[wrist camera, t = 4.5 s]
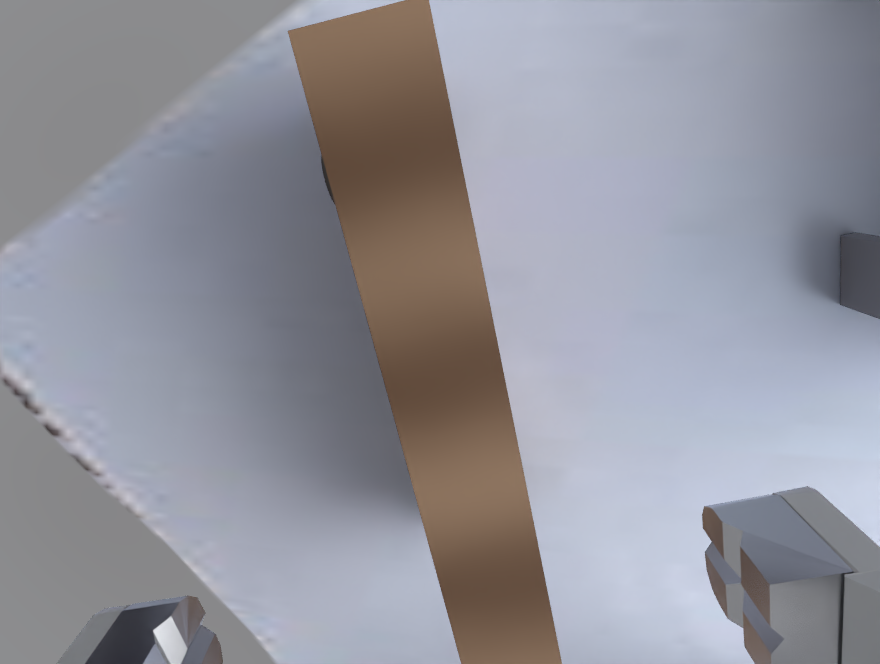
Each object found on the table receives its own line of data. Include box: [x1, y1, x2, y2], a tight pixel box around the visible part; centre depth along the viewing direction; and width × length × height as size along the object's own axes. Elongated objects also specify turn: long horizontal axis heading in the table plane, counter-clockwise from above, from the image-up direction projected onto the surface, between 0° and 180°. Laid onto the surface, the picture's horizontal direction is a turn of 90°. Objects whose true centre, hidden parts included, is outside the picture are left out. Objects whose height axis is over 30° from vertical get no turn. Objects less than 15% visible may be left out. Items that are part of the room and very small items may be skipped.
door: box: [288, 0, 562, 664], centre depth 19 cm, size 20×4×10 cm, turn 13°
